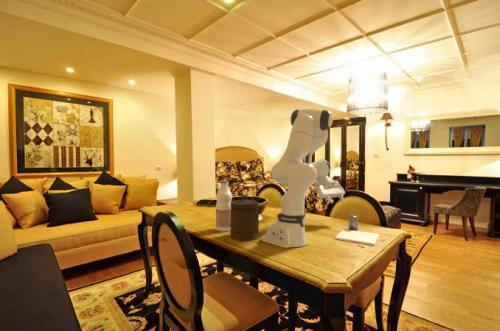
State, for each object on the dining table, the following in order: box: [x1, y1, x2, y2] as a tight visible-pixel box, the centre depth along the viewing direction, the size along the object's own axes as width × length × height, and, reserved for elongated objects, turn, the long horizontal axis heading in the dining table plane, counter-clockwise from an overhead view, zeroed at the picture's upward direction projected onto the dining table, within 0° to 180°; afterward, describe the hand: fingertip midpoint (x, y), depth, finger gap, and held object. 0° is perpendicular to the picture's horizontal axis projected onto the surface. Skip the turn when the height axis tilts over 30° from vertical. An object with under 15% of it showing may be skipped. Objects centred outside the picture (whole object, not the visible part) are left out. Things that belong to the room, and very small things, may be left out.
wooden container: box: [229, 194, 260, 242], centre depth 131 cm, size 15×15×22 cm
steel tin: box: [348, 214, 359, 231], centre depth 144 cm, size 5×5×8 cm
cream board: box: [334, 228, 380, 246], centre depth 130 cm, size 18×18×1 cm
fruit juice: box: [215, 180, 233, 232], centre depth 144 cm, size 9×9×28 cm
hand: (337, 201), depth 154 cm, fingers open, 8 cm apart
